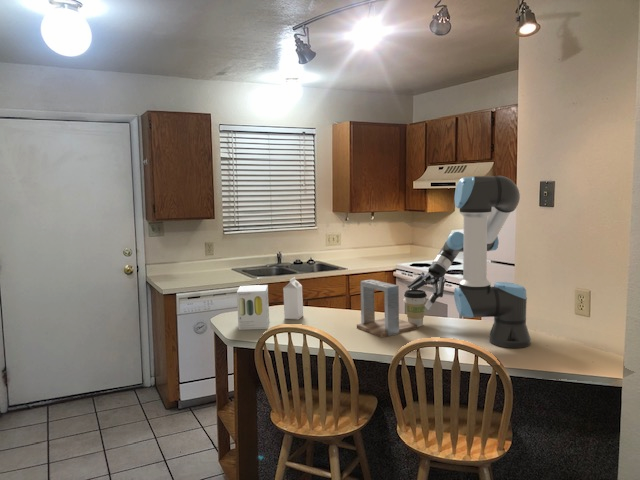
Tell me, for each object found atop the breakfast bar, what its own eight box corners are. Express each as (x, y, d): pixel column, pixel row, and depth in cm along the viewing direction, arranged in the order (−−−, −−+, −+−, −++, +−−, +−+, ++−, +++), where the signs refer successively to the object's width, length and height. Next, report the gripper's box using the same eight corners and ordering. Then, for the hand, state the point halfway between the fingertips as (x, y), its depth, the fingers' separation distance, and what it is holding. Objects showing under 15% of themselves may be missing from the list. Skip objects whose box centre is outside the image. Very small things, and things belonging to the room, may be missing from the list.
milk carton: (284, 319, 241) (282, 279, 239) (289, 315, 248) (288, 276, 245) (298, 319, 239) (297, 280, 237) (303, 315, 246) (302, 277, 243)
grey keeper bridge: (399, 333, 214) (398, 285, 211) (388, 336, 210) (387, 287, 208) (371, 324, 229) (371, 279, 226) (361, 326, 225) (360, 281, 223)
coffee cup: (401, 326, 223) (401, 292, 222) (408, 320, 232) (408, 288, 230) (423, 328, 219) (423, 294, 217) (429, 323, 227) (429, 290, 226)
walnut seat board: (417, 328, 220) (417, 325, 220) (381, 337, 209) (381, 333, 209) (391, 319, 234) (391, 316, 234) (356, 327, 223) (356, 324, 223)
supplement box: (237, 330, 225) (235, 291, 223) (241, 322, 238) (239, 285, 236) (267, 329, 226) (266, 290, 224) (269, 321, 239) (268, 284, 237)
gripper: (464, 276, 223) (440, 315, 217) (424, 268, 244) (401, 304, 238) (456, 266, 220) (431, 305, 213) (416, 259, 240) (392, 295, 234)
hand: (415, 305), depth 226 cm, fingers open, 13 cm apart
